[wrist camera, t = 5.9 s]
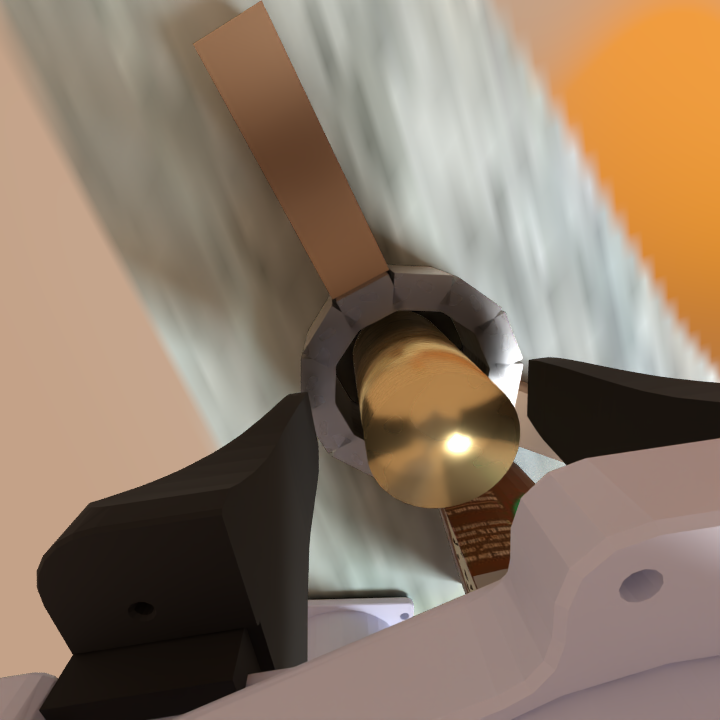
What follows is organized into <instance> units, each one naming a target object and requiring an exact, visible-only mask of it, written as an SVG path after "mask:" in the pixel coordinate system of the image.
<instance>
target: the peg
mask: <svg viewBox="0 0 720 720" xmlns="http://www.w3.org/2000/svg"><path fill="white" fill-rule="evenodd" d="M353 365H354V372H355V378H356V385H357V392H358V399H359V406H360V413H361V420H362V427H363V434H364V441H365V448H366V454H367V461H368V464H369V468H370V470H371V472H372V474H373V476H374V478H375V479H376V481H377V482H378V484H379V485H380V486H381V487H382V488H383V489H384V490H385V491H386V492H387V493H389V494H390V495H391V496H393V497H394V498H396V499H398V500H400V501H402V502H404V503H407V504H410V505H413V506H418V507H423V508H445V507H451V506H456V505H460V504H463V503H465V502H468V501H471V500H473V499H475V498H477V497H479V496H480V495H482V494H484V493H485V492H487V491H488V490H489V489H491V488H492V487H493V486H494V485H495V484H496V483H498V482H499V481H500V480H501V478H502V477H503V476H504V475H505V474H506V472H507V471H508V469H509V468H510V466H511V465H512V463H513V461H514V459H515V457H516V454H517V451H518V447H519V442H520V422H519V418H518V414H517V412H516V410H515V407H514V405H513V404H512V402H511V401H510V399H509V398H508V397H507V396H506V394H505V393H504V392H503V391H502V390H501V389H500V388H499V387H498V386H497V385H496V384H495V383H494V382H493V381H491V380H490V379H489V378H488V377H487V376H486V375H485V374H484V373H483V372H482V371H481V370H480V369H479V368H478V367H477V366H476V365H475V364H474V363H473V362H472V361H471V360H470V359H469V358H468V357H467V356H466V355H465V354H464V353H462V352H461V351H460V350H459V349H458V348H457V347H456V346H455V345H454V344H453V343H452V342H451V341H450V340H449V339H448V338H447V337H446V336H445V335H444V334H443V333H442V332H441V331H440V330H439V329H438V328H437V327H436V326H435V325H434V324H432V323H431V322H430V321H429V320H428V319H426V318H425V317H423V316H421V315H419V314H417V313H413V312H408V311H395V312H394V313H392V314H390V315H388V316H386V317H384V318H382V319H380V320H378V321H376V322H374V323H372V324H370V325H368V326H366V327H365V328H363V330H362V331H361V332H360V334H359V336H358V338H357V340H356V342H355V345H354V350H353Z"/></svg>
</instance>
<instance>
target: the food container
mask: <svg viewBox="0 0 720 720" xmlns="http://www.w3.org/2000/svg"><path fill="white" fill-rule="evenodd" d="M534 485H535V483H534V482H533V481H532V480H531V479H530V478H529V477H528V476H527V475H526V473H525V472H524V471H523V470H522V469H521V468H520V467H519V466H518V465H516V464H515V463H514V462H513V463H512V465H511V466H510V468H509V469H508V471H507V472H506V474H505V475H504V476H503V477H502V478H501V480H500V481H499V482H498V483H496V484H495V485H494V486H493V487H492V488H491V489H489V490H488V491H487V492H485V493H484V494H482V495H480V496H479V497H477V498H475V499H473V500H471V501H468V502H465V503H463V504H460V505H456V506H451V507H445V508H439V512H440V515H441V518H442V521H443V525H444V528H445V531H446V534H447V538H448V541H449V544H450V547H451V551H452V554H453V557H454V560H455V564H456V567H457V570H458V573H459V576H460V580H461V583H462V586H463V589H464V591H465V594H468V593H470V592H472V591H475V590H477V589H479V588H482V587H484V586H486V585H489V584H491V583H493V582H496V581H498V580H500V579H501V578H502V577H503V576H505V575H506V573H507V572H508V568H509V562H510V540H511V526H512V523H513V520H514V517H515V514H516V511H517V508H518V505H519V502H520V499H521V498H522V497H523V495H524V494H525V493H527V492H528V491H529V490H530V489H531V488H532V487H533V486H534Z"/></svg>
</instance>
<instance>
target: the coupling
mask: <svg viewBox="0 0 720 720" xmlns="http://www.w3.org/2000/svg"><path fill="white" fill-rule="evenodd" d="M193 45H194V47H195V49H196V51H197V53H198V54H199V56H200V58H201V60H202V62H203V64H204V65H205V67H206V69H207V71H208V73H209V75H210V76H211V78H212V80H213V82H214V84H215V86H216V87H217V89H218V91H219V93H220V95H221V97H222V98H223V100H224V102H225V104H226V106H227V108H228V109H229V111H230V113H231V115H232V117H233V118H234V120H235V122H236V124H237V126H238V128H239V129H240V131H241V133H242V135H243V137H244V139H245V140H246V142H247V144H248V146H249V148H250V150H251V151H252V153H253V155H254V157H255V159H256V161H257V162H258V164H259V166H260V168H261V170H262V172H263V173H264V175H265V177H266V179H267V181H268V183H269V184H270V186H271V188H272V190H273V192H274V194H275V195H276V197H277V199H278V201H279V203H280V205H281V206H282V208H283V210H284V212H285V214H286V216H287V217H288V219H289V221H290V223H291V225H292V227H293V228H294V230H295V232H296V234H297V236H298V238H299V239H300V241H301V243H302V245H303V247H304V249H305V250H306V252H307V254H308V256H309V258H310V259H311V261H312V263H313V265H314V267H315V269H316V270H317V272H318V274H319V276H320V278H321V280H322V281H323V283H324V285H325V287H326V289H327V291H328V292H329V294H330V296H329V298H328V299H327V301H326V302H325V304H324V306H323V307H322V309H321V311H320V312H319V314H318V315H317V317H316V319H315V320H314V322H313V324H312V325H311V327H310V329H309V330H308V334H307V337H306V341H305V345H304V349H303V353H302V357H301V393H302V392H308V395H309V400H310V405H311V410H312V416H313V421H314V426H315V431H316V435H317V436H318V438H319V440H320V441H321V443H322V444H323V446H324V447H325V449H326V450H327V452H328V453H330V452H332V457H334V458H336V459H338V460H340V461H342V462H344V463H346V464H348V465H350V466H352V467H354V468H356V469H358V470H360V471H362V472H364V473H366V474H368V475H370V476H372V477H374V476H373V474H372V472H371V470H370V468H369V464H368V461H367V454H366V448H365V441H364V434H363V427H362V420H361V413H360V406H359V404H357V403H355V402H353V401H352V400H350V398H349V396H348V395H347V393H346V391H345V390H344V388H343V386H342V385H341V383H340V381H339V379H338V378H337V376H336V365H337V363H338V362H339V360H340V359H341V357H342V356H343V354H344V353H345V351H346V349H347V348H348V346H349V345H350V343H351V342H352V340H353V339H354V337H355V336H356V334H357V333H358V331H359V330H361V329H363V328H365V327H366V326H368V325H370V324H372V323H374V322H376V321H378V320H380V319H382V318H384V317H386V316H388V315H390V314H392V313H394V312H395V311H397V310H413V311H442V312H443V313H445V314H446V315H448V316H449V317H451V319H452V321H453V323H454V326H455V328H456V330H457V332H458V335H459V337H460V339H461V342H462V344H463V345H462V353H464V354H465V355H466V356H467V357H468V358H469V359H470V360H471V361H472V362H473V363H474V364H475V365H476V366H477V367H478V368H479V369H480V370H481V371H482V372H483V373H484V374H485V375H486V376H487V377H488V378H489V379H490V380H491V381H493V382H494V383H495V384H496V385H497V386H498V387H499V388H500V389H501V390H502V391H503V392H504V393H505V394H506V396H507V397H508V398H509V399H510V401H511V402H512V404H513V405H514V407H515V410H516V412H517V414H518V418H519V422H520V442H519V447H522V448H525V449H528V450H530V451H533V452H536V453H539V454H542V455H544V456H547V457H550V458H553V459H556V460H558V461H561V462H563V461H562V460H561V459H560V458H559V457H558V456H557V454H556V453H555V452H554V451H553V450H552V449H551V448H550V447H549V446H548V445H547V444H546V442H545V441H544V440H543V439H542V438H541V436H540V435H539V433H538V432H537V431H536V429H535V428H534V426H533V425H532V423H531V422H530V420H529V418H528V417H527V397H528V383H526V382H524V381H521V380H520V379H521V374H522V369H523V363H521V362H520V361H519V360H521V359H523V357H522V354H521V352H520V349H519V346H518V344H517V341H516V338H515V336H514V333H513V330H512V328H511V325H510V322H509V320H508V317H507V314H506V312H504V311H502V310H501V309H502V307H500V306H499V305H497V304H496V303H495V302H493V301H492V300H490V299H489V298H487V297H486V296H485V295H483V294H482V293H480V292H479V291H478V290H476V289H475V288H473V287H472V286H470V285H469V284H468V283H466V282H465V281H463V280H462V279H460V278H459V277H457V276H454V275H452V274H449V273H446V272H444V271H441V270H439V269H436V268H433V267H430V266H409V265H387V264H386V262H385V260H384V257H383V255H382V253H381V251H380V249H379V247H378V245H377V243H376V241H375V239H374V236H373V234H372V232H371V230H370V228H369V226H368V224H367V222H366V220H365V217H364V215H363V213H362V211H361V209H360V207H359V205H358V203H357V201H356V198H355V196H354V194H353V192H352V190H351V188H350V186H349V184H348V182H347V180H346V177H345V175H344V173H343V171H342V169H341V167H340V165H339V163H338V161H337V158H336V156H335V154H334V152H333V150H332V148H331V146H330V144H329V142H328V139H327V137H326V135H325V133H324V131H323V129H322V127H321V125H320V123H319V121H318V118H317V116H316V114H315V112H314V110H313V108H312V106H311V104H310V102H309V99H308V97H307V95H306V93H305V91H304V89H303V87H302V85H301V83H300V80H299V78H298V76H297V74H296V72H295V70H294V68H293V66H292V64H291V61H290V59H289V57H288V55H287V53H286V51H285V49H284V47H283V45H282V43H281V40H280V38H279V36H278V34H277V32H276V30H275V28H274V26H273V24H272V21H271V19H270V17H269V15H268V13H267V11H266V9H265V7H264V5H263V2H262V0H261V1H260V2H258V3H257V4H255V5H254V6H252V7H250V8H249V9H247V10H246V11H244V12H243V13H241V14H239V15H238V16H236V17H235V18H233V19H232V20H230V21H228V22H227V23H225V24H224V25H222V26H221V27H219V28H217V29H216V30H214V31H213V32H211V33H210V34H208V35H206V36H205V37H203V38H202V39H200V40H198V41H197V42H195V43H194V44H193Z"/></svg>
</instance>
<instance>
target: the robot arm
mask: <svg viewBox="0 0 720 720" xmlns="http://www.w3.org/2000/svg"><path fill="white" fill-rule="evenodd" d="M527 417H528V418H529V420H530V422H531V423H532V425H533V426H534V428H535V429H536V431H537V432H538V433H539V435H540V436H541V438H542V439H543V440H544V441H545V442H546V444H547V445H548V446H549V447H550V448H551V449H552V450H553V451H554V452H555V453H556V454H557V456H558V457H559V458H560V459H561V460H562V461H563V462H564V463H565V464H566V466H564V467H561V468H558V469H555V470H553V471H550V472H548V473H547V474H546V475H544V476H543V477H542V478H541V479H540V480H539V481H538V482H537V483H536V484H535V485H534V486H533V487H532V488H531V489H530V490H529V491H528V492H527V493H525V494H524V495H523V497H522V498H521V499H520V502H519V505H518V508H517V511H516V514H515V517H514V520H513V523H512V526H511V540H510V562H509V568H508V572H507V573H506V575H505V576H503V577H502V578H501V579H500V580H498V581H496V582H493V583H491V584H489V585H486V586H484V587H482V588H479V589H477V590H475V591H472V592H470V593H468V594H465V595H463V596H460V597H458V598H456V599H453V600H451V601H449V602H446V603H444V604H442V605H439V606H437V607H435V608H432V609H430V610H427V611H425V612H423V613H420V614H418V615H416V616H413V613H414V605H413V601H412V600H411V599H410V598H407V597H395V598H359V599H322V600H308V572H309V543H310V532H311V525H312V518H313V510H314V503H315V496H316V489H317V481H318V473H319V450H318V442H317V436H316V431H315V426H314V421H313V416H312V410H311V405H310V400H309V395H308V392H302V393H295V394H289V395H287V396H286V397H285V398H283V399H282V400H281V401H280V402H279V403H278V404H277V405H276V406H275V407H273V408H272V409H271V410H270V411H269V412H268V413H267V414H266V415H265V416H263V417H262V418H261V419H260V420H259V421H258V422H256V423H255V424H254V425H253V426H251V427H250V428H249V429H248V430H246V431H245V432H244V433H242V434H241V435H240V436H238V437H237V438H236V439H234V440H233V441H231V442H230V443H228V444H227V445H225V446H223V447H222V448H220V449H219V450H217V451H215V452H214V453H212V454H210V455H208V456H206V457H205V458H203V459H201V460H199V461H197V462H195V463H193V464H191V465H189V466H187V467H185V468H183V469H181V470H179V471H177V472H174V473H172V474H170V475H168V476H165V477H163V478H161V479H158V480H156V481H153V482H151V483H148V484H146V485H143V486H140V487H137V488H135V489H131V490H129V491H126V492H122V493H120V494H116V495H114V496H110V497H108V498H104V499H101V500H98V501H95V502H91V503H89V504H88V505H87V506H86V508H85V509H84V510H83V511H82V512H81V513H80V515H79V516H78V517H77V518H76V519H75V520H74V521H73V522H72V523H71V525H70V526H69V527H68V528H67V529H66V530H65V531H64V533H63V534H62V535H61V536H60V537H59V539H57V541H56V542H55V543H54V544H53V545H52V546H51V547H50V549H49V550H48V551H47V552H46V553H45V554H44V555H43V557H42V560H41V562H40V565H39V567H38V569H37V589H38V592H39V594H40V597H41V599H42V602H43V604H44V607H45V608H46V610H47V612H48V613H49V615H50V617H51V618H52V620H53V622H54V624H55V625H56V627H57V629H58V630H59V632H60V634H61V635H62V637H63V639H64V640H65V642H66V644H67V645H68V647H69V649H70V650H71V652H72V654H73V656H72V657H71V659H70V661H69V662H68V664H67V665H66V667H65V669H64V670H63V672H62V674H61V675H60V677H59V678H56V677H55V676H53V675H50V674H47V673H28V674H22V675H16V676H9V677H3V678H0V720H720V383H714V382H702V381H693V380H684V379H675V378H667V377H660V376H653V375H647V374H641V373H635V372H630V371H624V370H619V369H614V368H609V367H604V366H599V365H594V364H589V363H584V362H579V361H574V360H568V359H562V358H552V357H546V358H539V359H532V360H529V366H528V397H527Z"/></svg>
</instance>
